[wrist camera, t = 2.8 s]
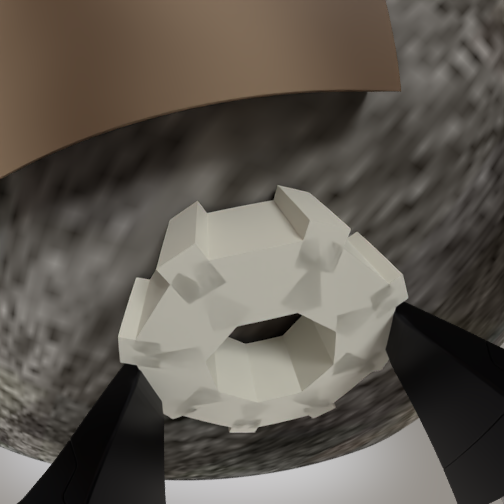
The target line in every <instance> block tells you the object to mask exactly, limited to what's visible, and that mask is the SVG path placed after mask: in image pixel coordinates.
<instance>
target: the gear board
mask: <svg viewBox="0 0 504 504" xmlns="http://www.w3.org/2000/svg"><path fill="white" fill-rule="evenodd" d="M347 91H357V92H377V91H401V84H400V76H399V68H398V61H397V54H396V48H395V43H394V37H393V32H392V27H391V22H390V18H389V13H388V9H387V5H386V1H385V0H0V180H1V179H2V178H4V177H6V176H8V175H10V174H12V173H13V172H15V171H17V170H19V169H21V168H23V167H25V166H27V165H29V164H31V163H33V162H35V161H37V160H40V159H42V158H44V157H46V156H48V155H51V154H53V153H55V152H57V151H60V150H62V149H64V148H67V147H69V146H72V145H74V144H77V143H79V142H82V141H84V140H87V139H90V138H92V137H95V136H98V135H101V134H104V133H106V132H109V131H112V130H115V129H118V128H122V127H125V126H128V125H131V124H134V123H138V122H141V121H145V120H148V119H152V118H156V117H159V116H163V115H167V114H171V113H175V112H180V111H184V110H188V109H193V108H198V107H203V106H208V105H213V104H218V103H224V102H230V101H236V100H243V99H250V98H258V97H266V96H275V95H285V94H297V93H313V92H347Z"/></svg>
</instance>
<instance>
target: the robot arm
mask: <svg viewBox="0 0 504 504" xmlns="http://www.w3.org/2000/svg"><path fill="white" fill-rule="evenodd" d="M385 350H386V353H387V355H388V358H389V360H390V362H391V365H392V367H393V369H394V371H395V373H396V374H397V376H398V378H399V380H400V382H401V384H402V386H403V387H404V389H405V391H406V393H407V395H408V397H409V399H410V401H411V403H412V405H413V407H414V409H415V411H416V412H417V414H418V416H419V418H420V420H421V422H422V424H423V427H424V428H425V430H426V432H427V434H428V437H429V439H430V441H431V443H432V445H433V447H434V450H435V452H436V454H437V456H438V458H439V460H440V463H441V465H442V467H443V468H444V472H445V474H446V477H447V479H448V481H449V484H450V486H451V488H452V491H453V493H454V496H455V498H456V501H457V504H489V503H492V502H494V501H496V500H498V499H500V498H501V500H502V502H503V503H504V349H503V348H501V347H499V346H497V345H495V344H493V343H491V342H489V341H485V340H484V339H482V338H480V337H478V336H476V335H474V334H472V333H470V332H468V331H466V330H463V329H461V328H459V327H457V326H455V325H453V324H451V323H449V322H447V321H445V320H442V319H440V318H438V317H436V316H434V315H432V314H430V313H428V312H425V311H423V310H421V309H419V308H417V307H415V306H413V305H410V304H408V303H406V302H402V303H401V304H399V305H398V306H396V309H395V312H394V315H393V319H392V324H391V329H390V333H389V337H388V341H387V345H386V349H385ZM70 440H71V441H70ZM70 440H69V441H68V442H67V444H66V445H65V447H64V448H63V450H62V451H61V452H60V454H59V455H58V456H57V458H56V459H55V461H54V462H53V463H52V464H51V466H50V467H49V468H48V469H47V471H46V472H45V473H44V474H43V475H42V477H41V478H40V479H39V480H38V481H37V483H36V484H35V485H34V486H33V488H32V489H31V490H30V491H29V492H28V493H27V494H26V496H25V497H24V498H23V499H22V500H21V501H20V502H18V503H17V504H166V501H165V482H164V481H165V478H164V417H163V406H162V401H161V399H160V398H159V396H158V395H157V394H156V392H155V391H154V389H153V388H152V386H151V385H150V383H149V382H148V380H147V379H146V377H145V376H144V374H143V373H142V371H141V370H139V368H138V367H137V365H132V364H126V363H125V364H124V365H123V367H122V368H121V369H120V371H119V372H118V373H117V375H116V376H115V377H114V379H113V380H112V381H111V383H110V384H109V385H108V387H107V388H106V389H105V391H104V392H103V393H102V395H101V396H100V398H99V399H98V400H97V402H96V403H95V404H94V406H93V407H92V409H91V410H90V411H89V413H88V414H87V416H86V417H85V418H84V420H83V421H82V423H81V424H80V425H79V427H78V428H77V430H76V431H75V432H74V434H73V435H72V437H71V438H70Z"/></svg>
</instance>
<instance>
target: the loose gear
mask: <svg viewBox="0 0 504 504" xmlns="http://www.w3.org/2000/svg"><path fill="white" fill-rule="evenodd" d="M350 231H351V229H350V228H349V227H348V226H347V225H346V224H345V223H344V222H343V221H342V220H340V219H339V218H338V217H337V216H336V215H335V214H334V213H332V212H331V211H330V210H329V209H328V208H327V207H326V206H324V205H323V204H322V203H321V202H320V201H319V200H317V199H316V198H315V197H314V196H313V195H312V194H310V193H309V192H305V191H301V190H297V189H292V188H288V187H284V186H279V185H278V186H277V189H276V193H275V196H274V200H271V201H266V202H260V203H255V204H250V205H245V206H239V207H234V208H229V209H225V210H220V211H215V212H210V213H206V211H205V210H204V209H203V207H202V206H201V204H200V203H199V202H198V201H196V202H195V203H194V204H192V205H191V206H189V207H188V208H186V209H185V210H183V211H182V212H180V213H179V214H178V215H176V216H175V217H173V218H172V219H170V221H169V224H168V228H167V231H166V235H165V238H164V242H163V245H162V249H161V253H160V256H159V260H158V264H157V268H156V270H155V272H154V273H153V275H152V277H151V279H144V278H137V277H136V280H135V283H134V286H133V289H132V292H131V295H130V298H129V301H128V304H127V308H126V311H125V314H124V318H123V321H122V324H121V328H120V331H119V335H118V344H119V354H120V362H121V363H126V364H132V365H137V367H138V368H139V370H141V371H142V373H143V374H144V376H145V377H146V379H147V380H148V382H149V383H150V385H151V386H152V388H153V389H154V391H155V392H156V394H157V395H158V396H159V398H160V399H161V401H162V406H163V414H165V415H167V416H169V417H170V418H172V419H175V418H178V417H180V416H186V417H190V418H194V419H197V420H201V421H205V422H209V423H214V424H218V425H222V426H227V427H229V433H251V432H255V431H256V429H257V428H258V427H261V426H266V425H271V424H275V423H280V422H284V421H288V420H292V419H296V418H300V417H304V416H308V415H309V416H310V417H312V418H316V417H318V416H320V415H322V414H324V413H326V412H328V411H330V410H332V409H334V408H336V406H335V403H334V402H335V401H337V400H338V399H339V398H341V397H342V396H343V395H344V394H346V393H347V392H348V391H349V390H351V389H352V388H353V387H354V386H355V385H357V384H358V383H359V382H360V381H361V380H363V379H364V378H365V377H366V376H367V375H368V374H369V373H371V372H373V371H381V370H382V369H383V367H384V366H385V365H386V363H387V362H388V360H389V358H388V355H387V353H386V350H385V349H386V345H387V341H388V337H389V333H390V329H391V324H392V319H393V315H394V312H395V309H396V306H398V305H399V304H401V303H402V302H404V301H405V300H406V299H408V294H407V290H406V286H405V282H404V278H403V274H402V273H401V272H400V271H399V270H398V269H397V268H396V267H394V266H393V265H392V264H391V263H390V262H389V261H388V260H387V259H386V258H385V257H384V256H383V255H382V254H381V253H380V252H379V251H378V250H377V249H376V248H375V247H373V246H372V245H371V244H370V243H369V242H368V241H367V240H366V239H365V238H364V237H363V236H361V235H360V234H359V233H358V232H356V233H354V234H353V235H351V236H350V237H348V236H349V233H350ZM295 313H299V314H301V315H302V316H301V317H300V318H299V319H298V320H297V321H296V322H295V323H294V324H293V325H292V326H291V328H290V329H289V330H288V331H287V332H286V333H285V334H284V335H283V336H279V337H275V338H270V339H266V340H261V341H257V342H252V343H247V344H245V343H242V342H240V341H237V340H235V339H232V338H230V337H228V336H229V335H230V334H231V333H232V332H233V331H234V329H235V328H236V327H237V326H241V325H246V324H251V323H256V322H260V321H265V320H269V319H274V318H278V317H282V316H287V315H291V314H295Z"/></svg>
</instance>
